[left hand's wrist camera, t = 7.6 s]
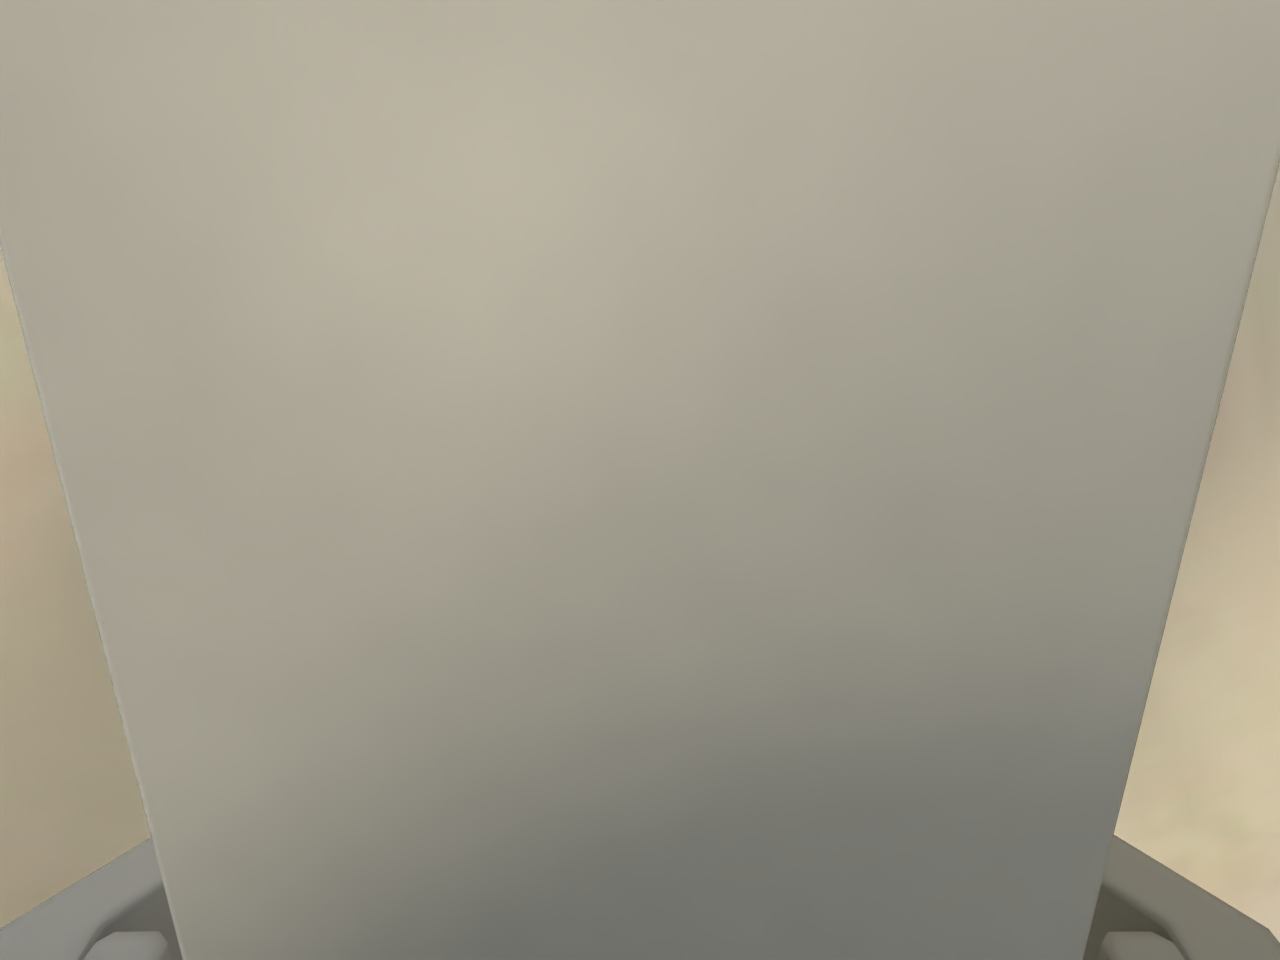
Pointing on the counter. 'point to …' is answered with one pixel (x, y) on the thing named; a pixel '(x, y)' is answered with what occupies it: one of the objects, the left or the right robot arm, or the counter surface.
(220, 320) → the bar
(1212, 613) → the counter surface
